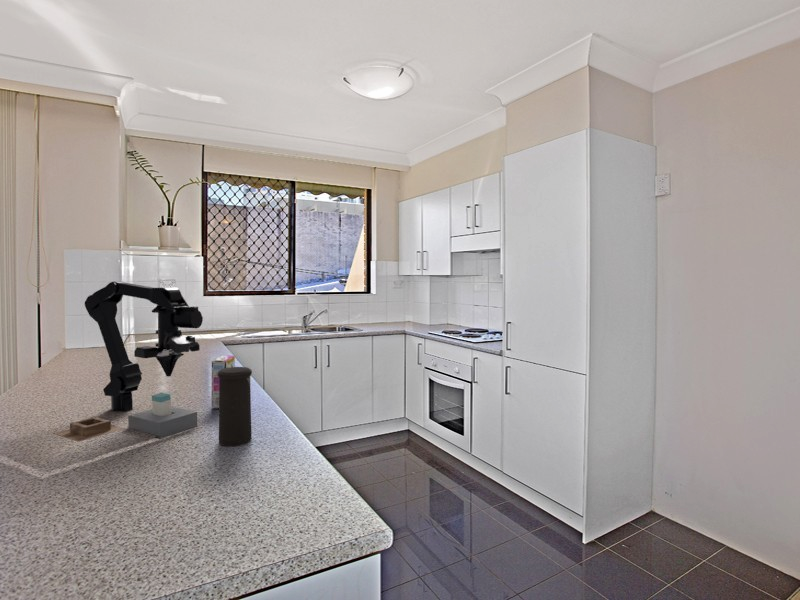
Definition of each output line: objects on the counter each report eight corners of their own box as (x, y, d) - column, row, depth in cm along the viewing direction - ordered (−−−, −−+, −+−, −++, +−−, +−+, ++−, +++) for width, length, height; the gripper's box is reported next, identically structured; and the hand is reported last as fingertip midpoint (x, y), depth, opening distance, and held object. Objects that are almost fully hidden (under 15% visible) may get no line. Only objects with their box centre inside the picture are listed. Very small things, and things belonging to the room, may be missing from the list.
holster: (55, 437, 127) (54, 424, 127) (100, 425, 137) (100, 413, 137) (79, 445, 121) (78, 431, 121) (125, 431, 132) (124, 419, 131)
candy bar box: (226, 409, 154) (226, 360, 153) (211, 409, 154) (210, 360, 153) (235, 400, 165) (235, 355, 165) (221, 400, 165) (220, 355, 164)
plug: (154, 429, 134) (151, 395, 133) (163, 425, 137) (161, 392, 136) (163, 431, 132) (160, 397, 131) (172, 427, 135) (170, 394, 134)
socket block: (128, 430, 132) (128, 415, 132) (166, 419, 143) (166, 405, 143) (159, 439, 126) (159, 422, 126) (197, 426, 136) (197, 411, 136)
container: (259, 437, 128) (258, 365, 127) (237, 449, 119) (237, 372, 118) (233, 434, 130) (232, 363, 129) (210, 444, 122) (209, 369, 121)
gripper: (155, 331, 134) (155, 385, 134) (210, 326, 150) (210, 374, 151) (133, 329, 139) (133, 380, 140) (188, 324, 155) (188, 370, 156)
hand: (168, 376), depth 147 cm, fingers closed
